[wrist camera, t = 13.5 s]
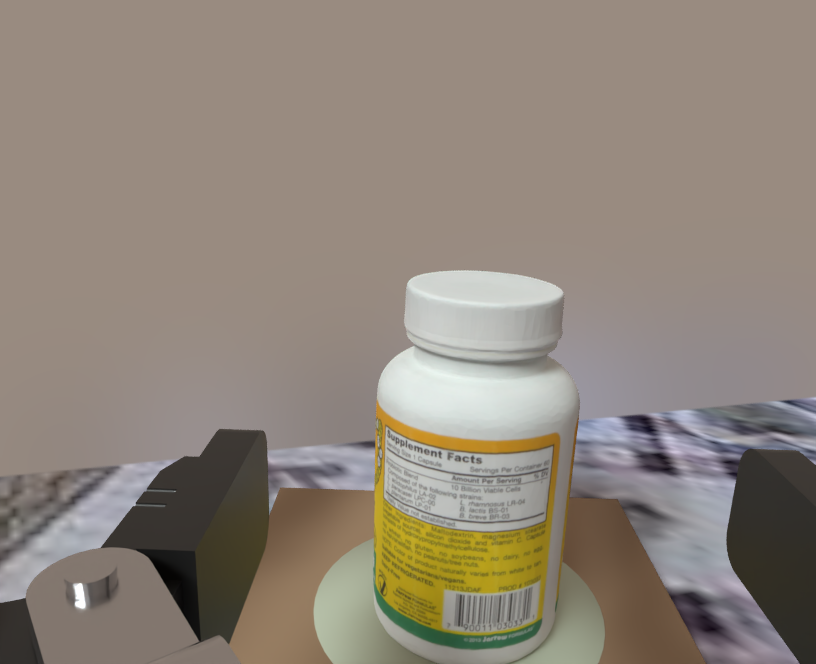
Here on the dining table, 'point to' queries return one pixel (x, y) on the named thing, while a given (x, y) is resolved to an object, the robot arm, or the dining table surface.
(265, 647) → the walnut board
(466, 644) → the supplement bottle
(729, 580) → the dining table surface
